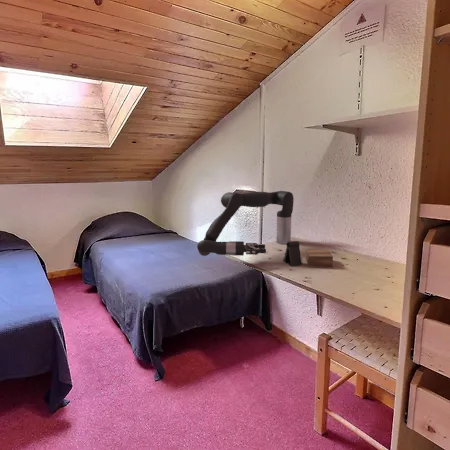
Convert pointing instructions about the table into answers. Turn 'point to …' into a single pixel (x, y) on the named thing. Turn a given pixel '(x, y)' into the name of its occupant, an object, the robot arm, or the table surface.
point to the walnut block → (319, 258)
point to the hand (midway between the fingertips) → (265, 248)
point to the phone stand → (292, 254)
